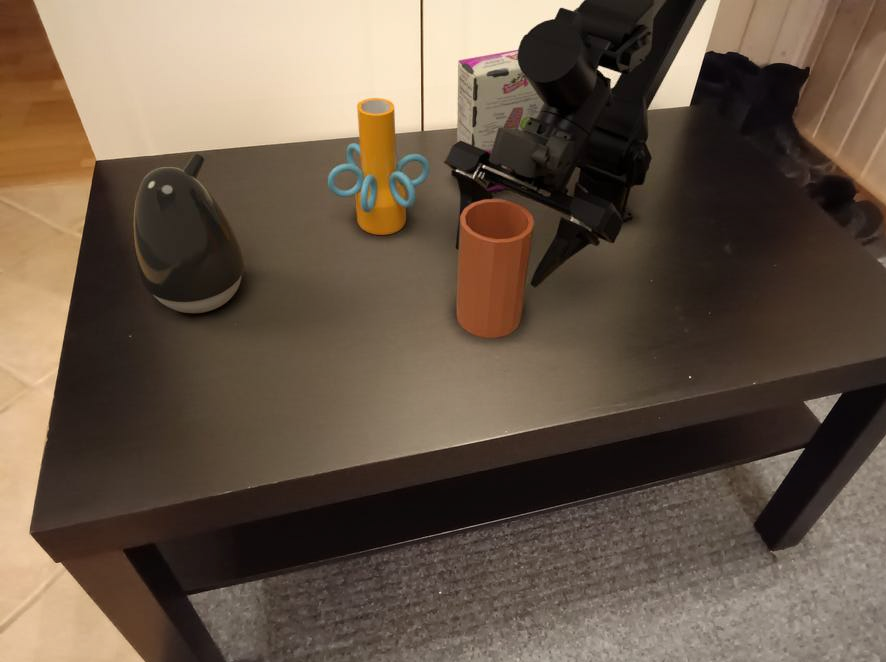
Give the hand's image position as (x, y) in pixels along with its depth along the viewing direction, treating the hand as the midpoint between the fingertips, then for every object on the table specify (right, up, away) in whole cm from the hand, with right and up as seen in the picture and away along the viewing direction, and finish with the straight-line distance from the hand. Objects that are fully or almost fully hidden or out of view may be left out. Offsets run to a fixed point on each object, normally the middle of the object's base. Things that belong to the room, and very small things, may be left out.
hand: (494, 267), depth 72 cm
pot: (-1, -5, +4) cm, 6 cm away
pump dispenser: (-32, -3, +4) cm, 32 cm away
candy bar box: (+1, +15, +23) cm, 27 cm away
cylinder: (-14, +8, +15) cm, 22 cm away
